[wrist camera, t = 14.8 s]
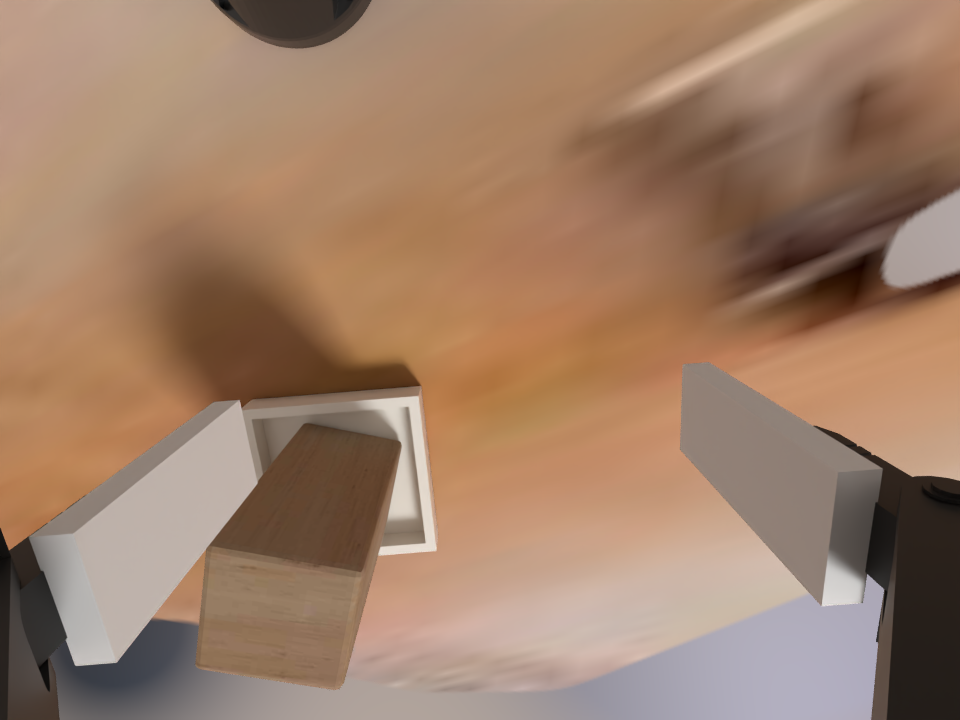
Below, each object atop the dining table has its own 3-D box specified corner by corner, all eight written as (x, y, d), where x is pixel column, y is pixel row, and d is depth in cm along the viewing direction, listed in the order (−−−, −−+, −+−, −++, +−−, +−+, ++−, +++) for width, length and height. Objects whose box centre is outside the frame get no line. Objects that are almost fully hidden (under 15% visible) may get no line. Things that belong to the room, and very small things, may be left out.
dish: (251, 399, 51) (238, 410, 49) (421, 385, 51) (418, 396, 49) (282, 546, 56) (272, 563, 53) (438, 533, 56) (436, 550, 53)
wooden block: (386, 524, 54) (341, 694, 35) (291, 507, 54) (191, 671, 34) (403, 439, 52) (364, 572, 32) (303, 420, 51) (203, 544, 32)
